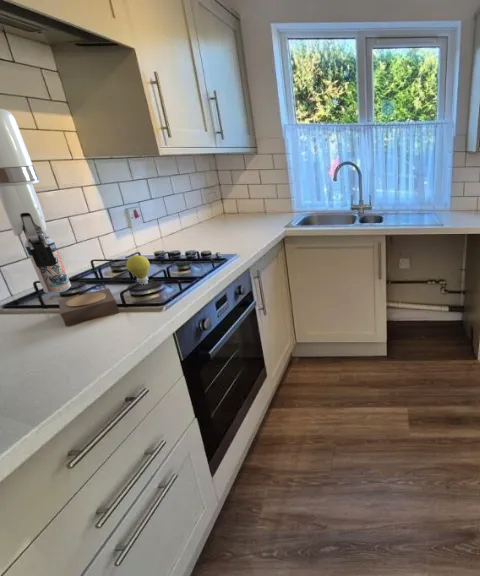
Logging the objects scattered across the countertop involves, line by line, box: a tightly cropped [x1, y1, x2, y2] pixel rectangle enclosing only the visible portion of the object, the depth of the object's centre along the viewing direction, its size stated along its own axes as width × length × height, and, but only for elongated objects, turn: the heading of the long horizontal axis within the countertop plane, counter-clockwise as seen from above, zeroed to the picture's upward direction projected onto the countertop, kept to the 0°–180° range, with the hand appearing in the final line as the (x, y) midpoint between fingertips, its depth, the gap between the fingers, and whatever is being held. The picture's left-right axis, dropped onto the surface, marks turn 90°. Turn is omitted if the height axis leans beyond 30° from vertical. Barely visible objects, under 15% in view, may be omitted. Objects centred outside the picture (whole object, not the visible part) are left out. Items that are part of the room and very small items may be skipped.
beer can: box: [24, 236, 72, 294], centre depth 80 cm, size 5×5×12 cm
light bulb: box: [125, 254, 151, 286], centre depth 122 cm, size 7×7×10 cm
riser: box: [58, 288, 120, 328], centre depth 103 cm, size 12×12×4 cm
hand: (46, 262), depth 79 cm, fingers closed on beer can, 4 cm apart
